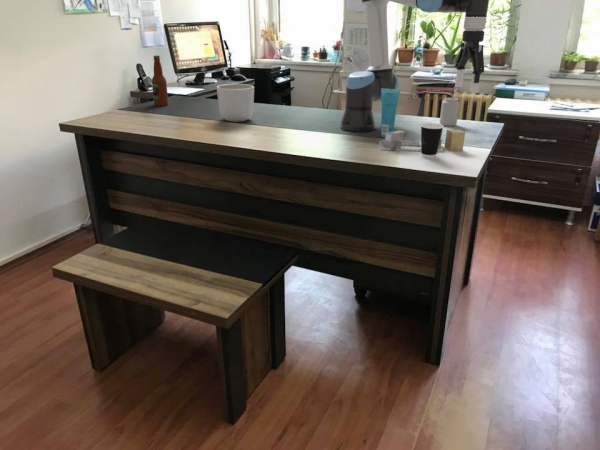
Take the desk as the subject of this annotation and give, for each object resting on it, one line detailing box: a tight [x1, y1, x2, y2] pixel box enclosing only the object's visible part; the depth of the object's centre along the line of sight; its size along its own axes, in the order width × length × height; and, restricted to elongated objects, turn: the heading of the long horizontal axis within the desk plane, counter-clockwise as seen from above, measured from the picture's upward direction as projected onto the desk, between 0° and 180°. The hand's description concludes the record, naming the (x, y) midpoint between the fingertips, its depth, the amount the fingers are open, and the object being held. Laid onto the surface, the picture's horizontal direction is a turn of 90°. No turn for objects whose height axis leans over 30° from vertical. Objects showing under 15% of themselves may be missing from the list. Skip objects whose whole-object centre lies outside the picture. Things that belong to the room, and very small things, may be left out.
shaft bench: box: [378, 129, 444, 153], centre depth 188 cm, size 23×14×6 cm, turn 84°
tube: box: [380, 88, 401, 138], centre depth 200 cm, size 7×5×19 cm, turn 83°
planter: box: [216, 83, 255, 123], centre depth 228 cm, size 17×17×15 cm
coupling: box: [443, 129, 466, 152], centre depth 185 cm, size 5×5×7 cm
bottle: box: [151, 55, 169, 107], centre depth 258 cm, size 7×7×25 cm
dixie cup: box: [420, 122, 445, 159], centre depth 175 cm, size 8×8×11 cm
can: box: [439, 97, 460, 127], centre depth 224 cm, size 8×8×12 cm
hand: (465, 89), depth 190 cm, fingers open, 13 cm apart
